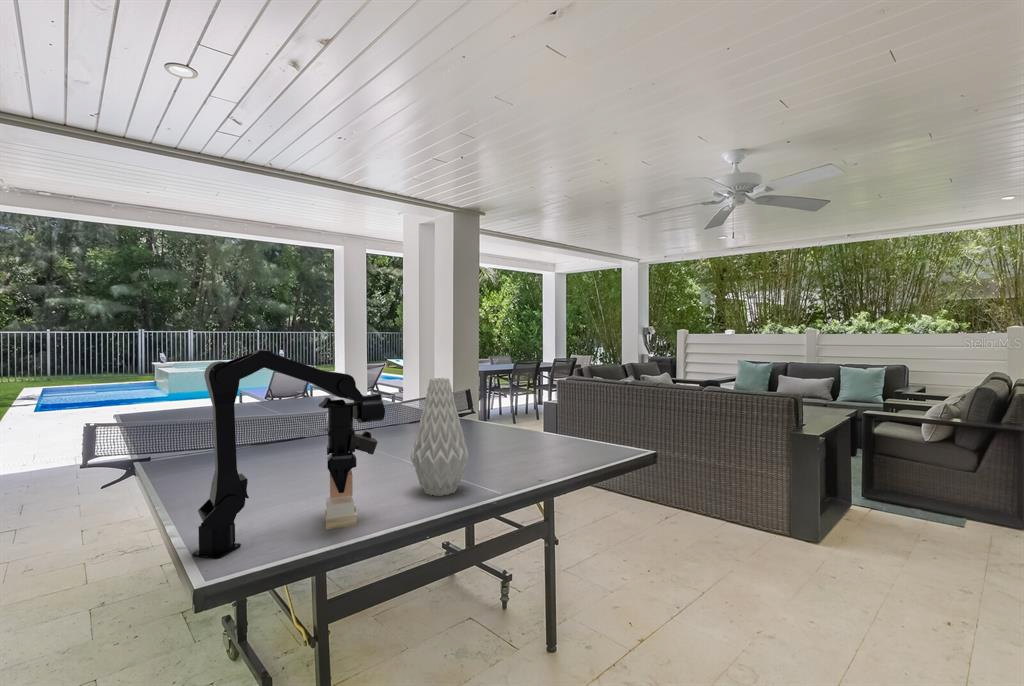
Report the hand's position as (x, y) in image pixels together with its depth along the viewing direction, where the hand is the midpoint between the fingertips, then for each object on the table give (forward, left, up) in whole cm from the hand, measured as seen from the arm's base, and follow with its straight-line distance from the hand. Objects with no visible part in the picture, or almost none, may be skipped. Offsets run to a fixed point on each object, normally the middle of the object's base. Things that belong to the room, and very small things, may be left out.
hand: (341, 489), depth 122 cm
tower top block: (0, 0, -6) cm, 6 cm away
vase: (+28, -15, -8) cm, 33 cm away
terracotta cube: (0, 0, -1) cm, 1 cm away
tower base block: (0, 0, -8) cm, 9 cm away
